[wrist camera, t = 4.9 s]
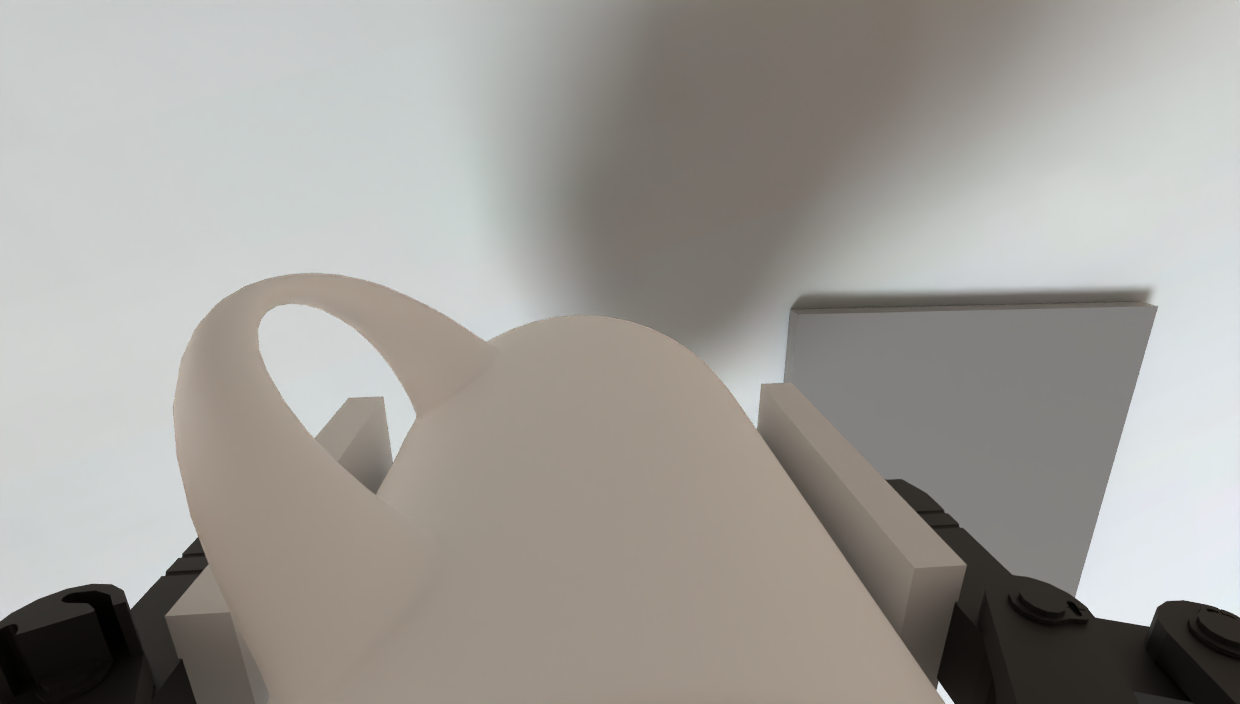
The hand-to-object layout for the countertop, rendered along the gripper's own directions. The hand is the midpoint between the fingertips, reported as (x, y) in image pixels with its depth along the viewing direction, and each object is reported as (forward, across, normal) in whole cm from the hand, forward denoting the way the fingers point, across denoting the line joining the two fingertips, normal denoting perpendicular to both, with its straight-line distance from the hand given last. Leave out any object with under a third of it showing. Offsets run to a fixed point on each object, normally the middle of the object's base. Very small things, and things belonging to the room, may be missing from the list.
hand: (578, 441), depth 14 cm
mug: (+1, -1, 0) cm, 2 cm away
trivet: (+7, +15, -6) cm, 18 cm away
